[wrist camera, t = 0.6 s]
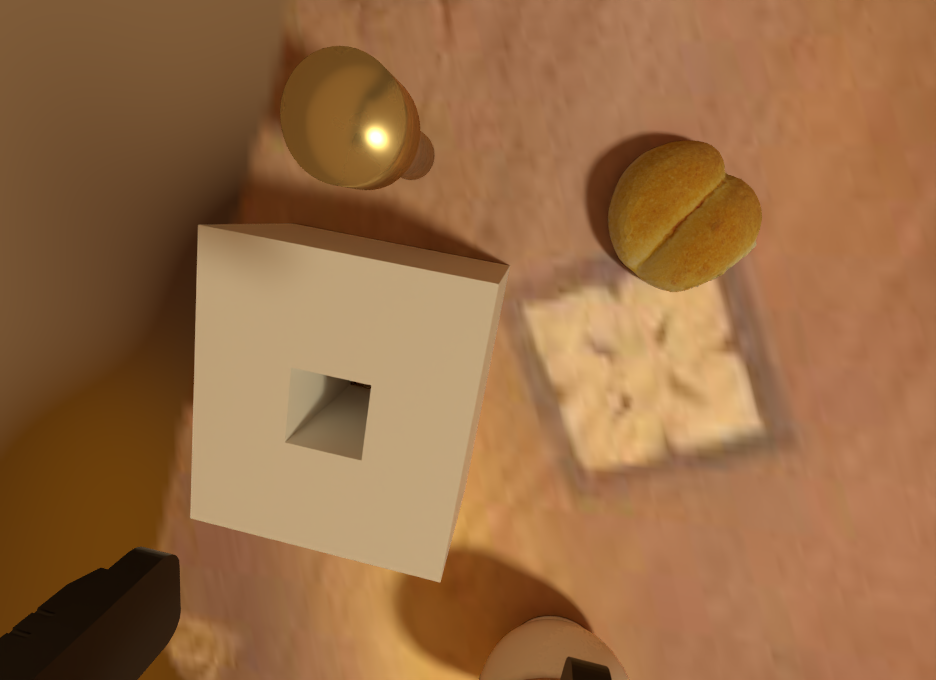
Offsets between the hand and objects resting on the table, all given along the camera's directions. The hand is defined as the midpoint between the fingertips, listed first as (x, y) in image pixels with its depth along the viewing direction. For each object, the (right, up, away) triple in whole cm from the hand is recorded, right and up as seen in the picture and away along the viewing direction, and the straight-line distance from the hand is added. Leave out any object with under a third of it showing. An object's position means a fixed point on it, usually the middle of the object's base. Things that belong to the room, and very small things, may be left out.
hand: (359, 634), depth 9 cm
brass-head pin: (-2, +18, +23) cm, 29 cm away
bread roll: (+16, +14, +22) cm, 30 cm away
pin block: (-4, +4, +27) cm, 27 cm away
